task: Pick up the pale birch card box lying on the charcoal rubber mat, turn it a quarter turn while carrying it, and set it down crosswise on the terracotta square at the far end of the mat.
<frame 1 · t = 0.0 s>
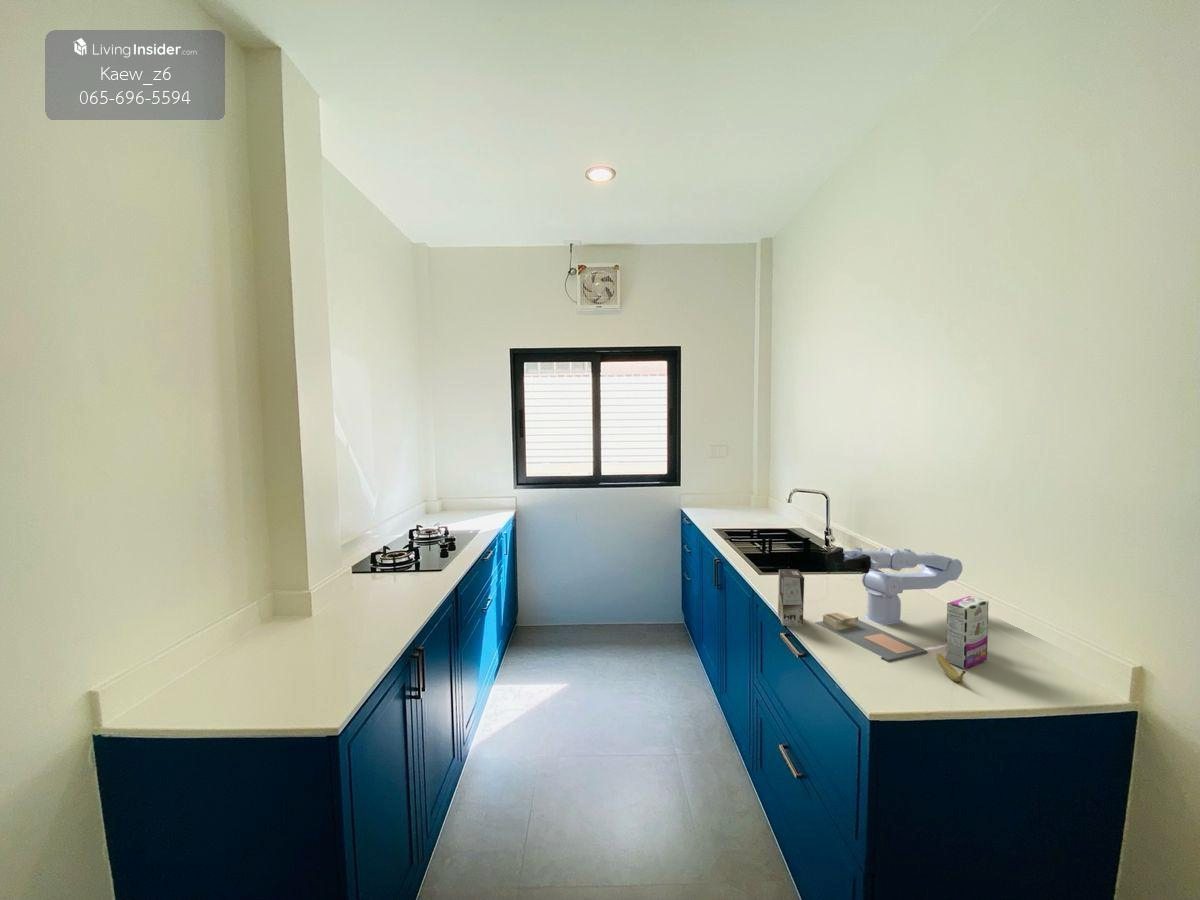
hand: (835, 560, 150), 22 cm above the counter, tool horizontal, fingers open, 7 cm apart
mat: (867, 637, 146), on the counter
card box: (840, 625, 153), point 1 cm above the counter, touching mat
candy bar box: (965, 662, 131), on the counter
coffee box: (790, 622, 157), on the counter
soda can: (959, 646, 141), on the counter
banana: (950, 677, 123), on the counter
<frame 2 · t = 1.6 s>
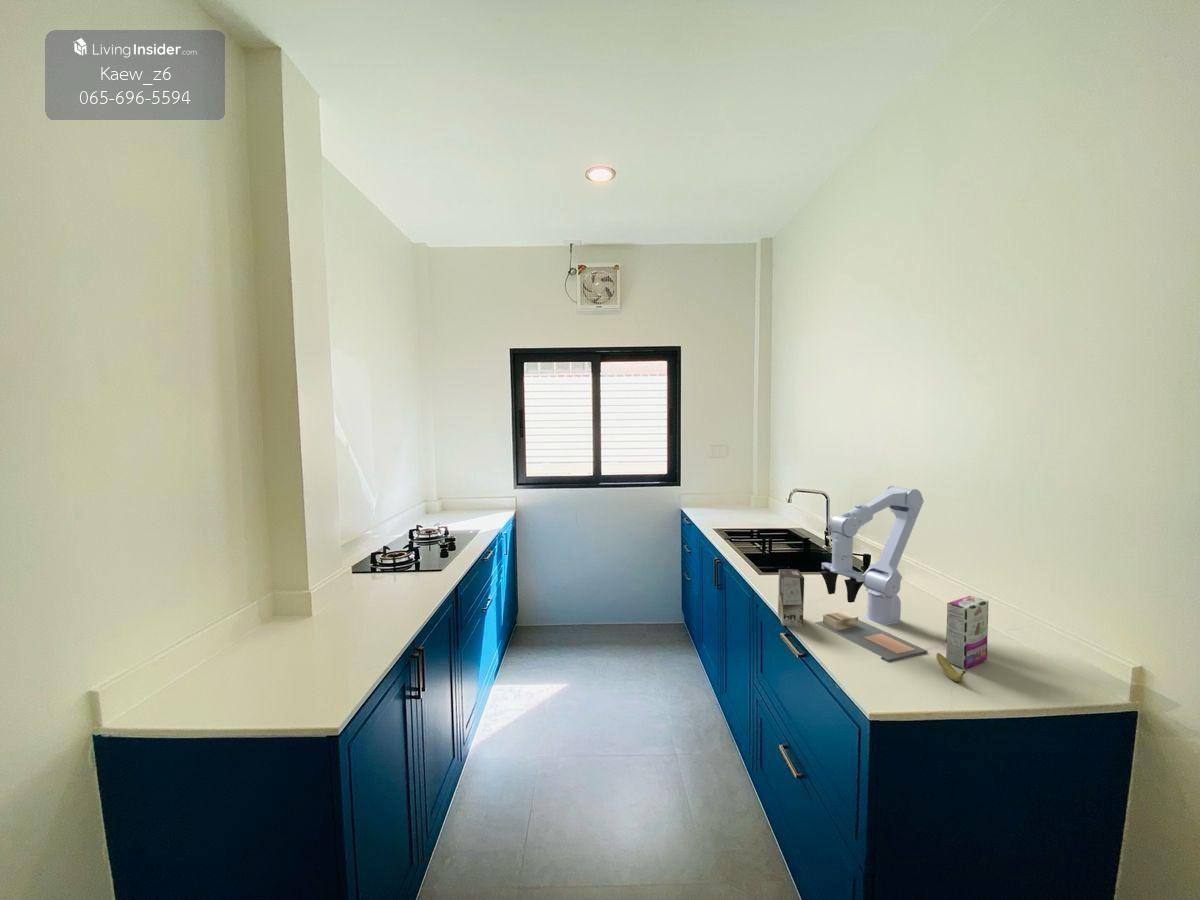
hand: (841, 597, 153), 9 cm above the counter, tool pointing down, fingers open, 7 cm apart
nothing on the counter moved.
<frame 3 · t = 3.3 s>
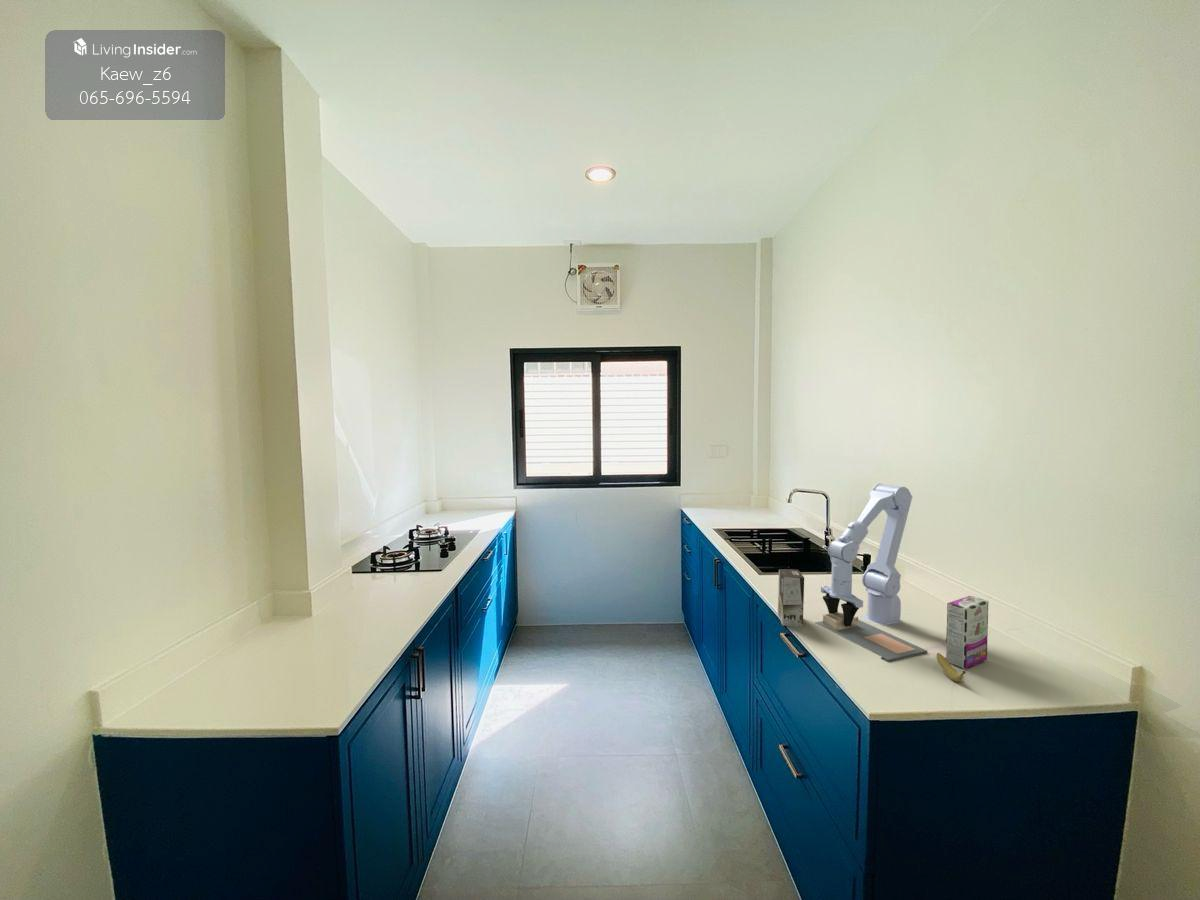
hand: (840, 622, 153), 2 cm above the counter, tool pointing down, fingers closed on card box, 5 cm apart
card box: (840, 625, 153), point 1 cm above the counter, touching gripper, mat
everything else where it was.
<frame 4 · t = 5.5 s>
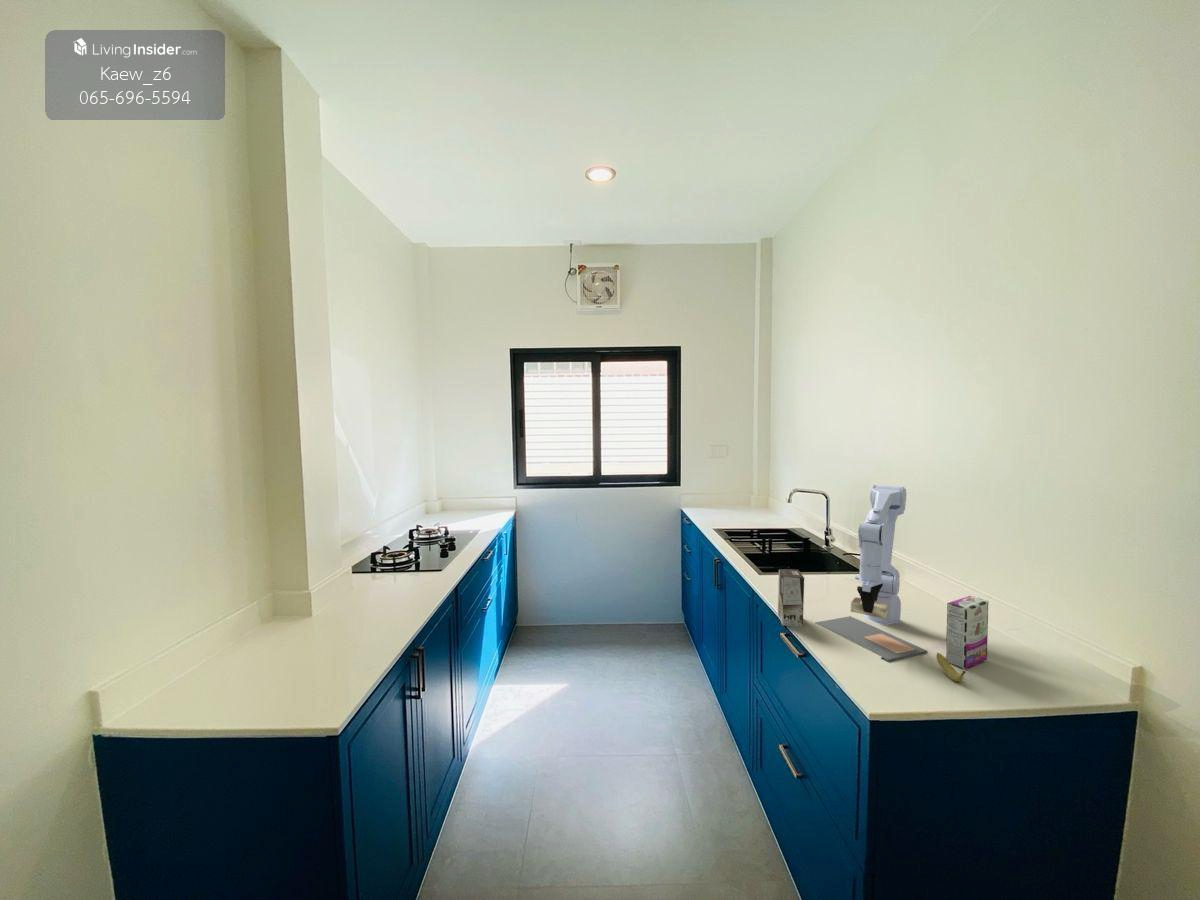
hand: (869, 609, 145), 9 cm above the counter, tool pointing down, fingers closed on card box, 5 cm apart
card box: (869, 612, 145), point 8 cm above the counter, touching gripper
everything else where it was.
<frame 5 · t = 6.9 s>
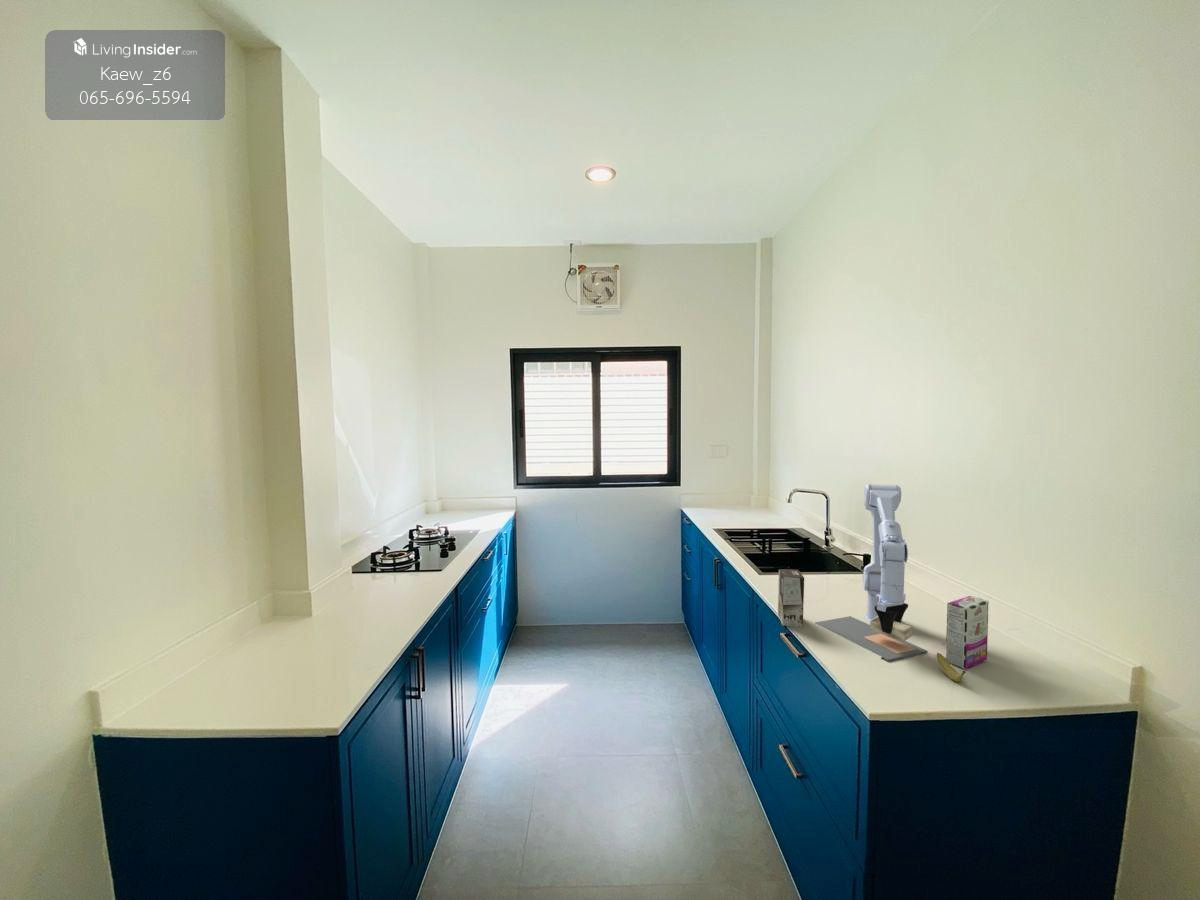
hand: (890, 629, 140), 4 cm above the counter, tool pointing down, fingers closed on card box, 5 cm apart
card box: (890, 633, 141), point 3 cm above the counter, touching gripper
everything else where it was.
when the fingers open (3 cm above the counter, at t = 8.1 s): card box drops 1 cm, resting on mat.
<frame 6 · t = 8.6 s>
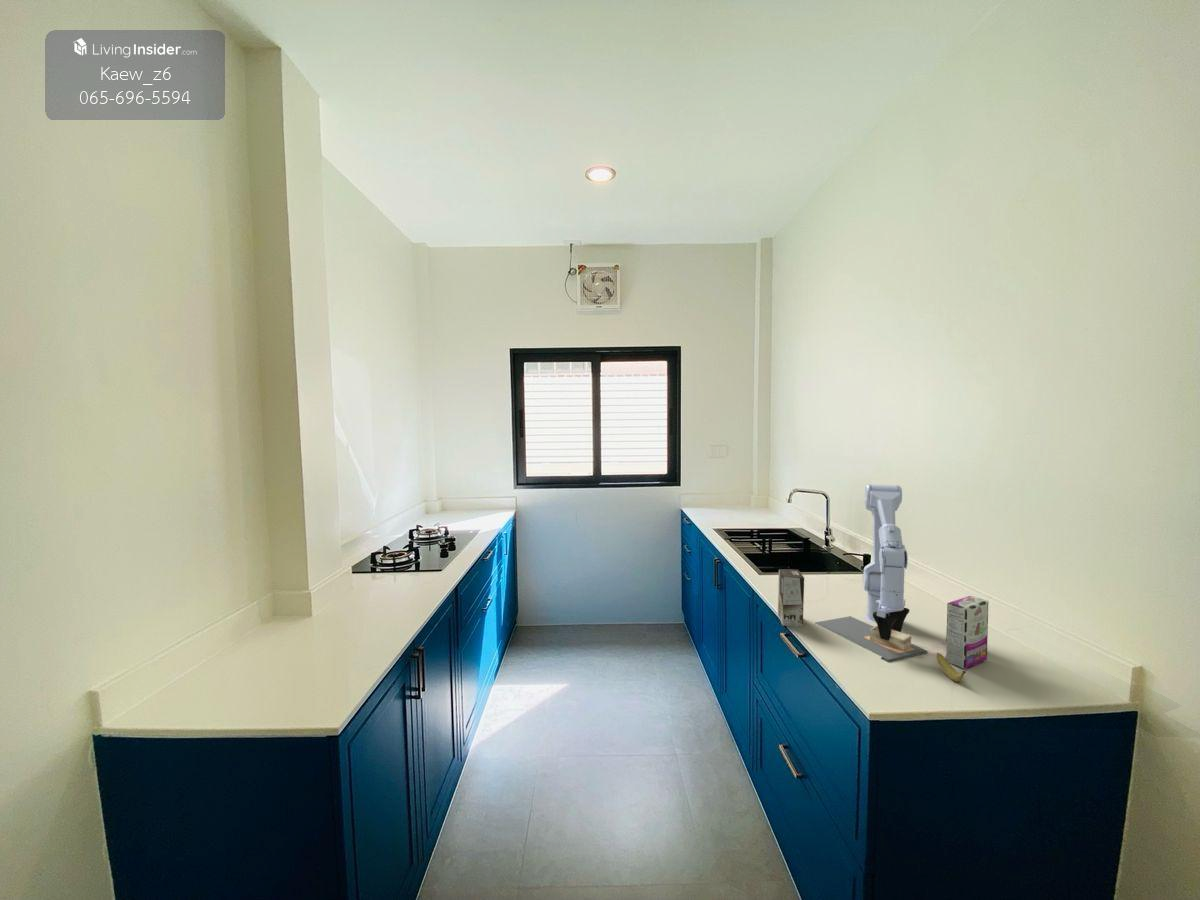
hand: (890, 635, 141), 3 cm above the counter, tool pointing down, fingers open, 7 cm apart
card box: (890, 642, 141), point 1 cm above the counter, touching mat
everything else where it was.
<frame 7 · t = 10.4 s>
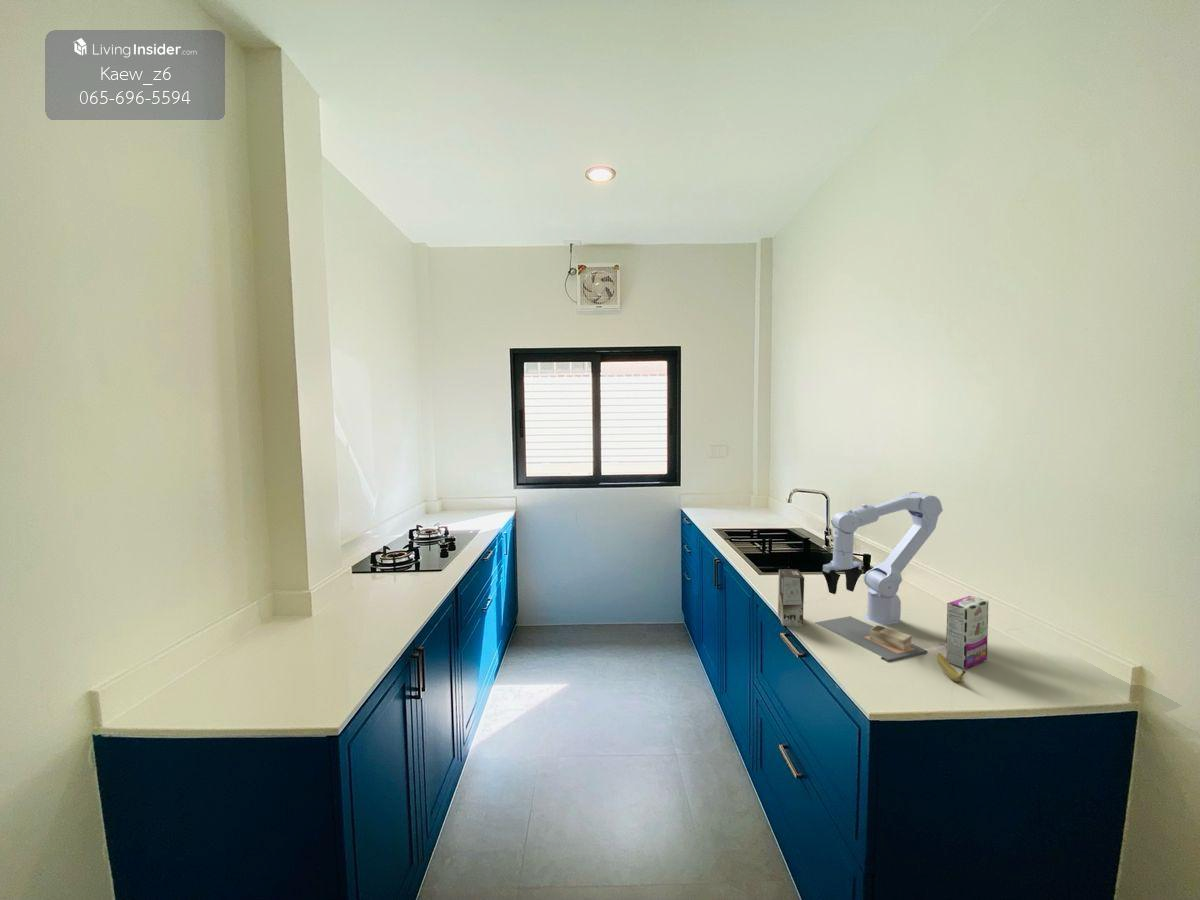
hand: (841, 591, 158), 9 cm above the counter, tool pointing down, fingers open, 7 cm apart
nothing on the counter moved.
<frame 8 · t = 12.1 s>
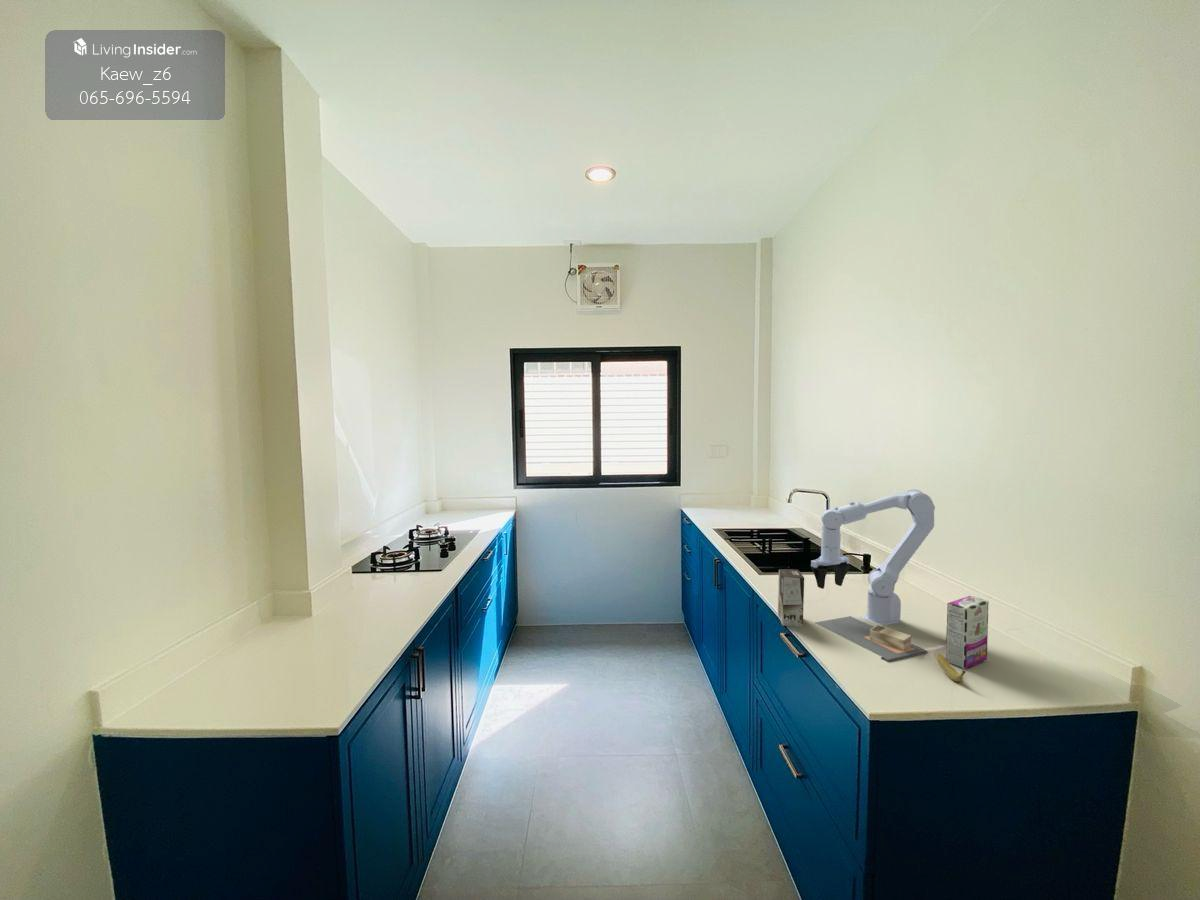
hand: (829, 586, 163), 9 cm above the counter, tool pointing down, fingers open, 7 cm apart
nothing on the counter moved.
at the end: card box 0.5 cm from the target spot on the mat, point 0.7 cm above the mat's base; card box tilted 0°; the gripper is holding nothing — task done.
